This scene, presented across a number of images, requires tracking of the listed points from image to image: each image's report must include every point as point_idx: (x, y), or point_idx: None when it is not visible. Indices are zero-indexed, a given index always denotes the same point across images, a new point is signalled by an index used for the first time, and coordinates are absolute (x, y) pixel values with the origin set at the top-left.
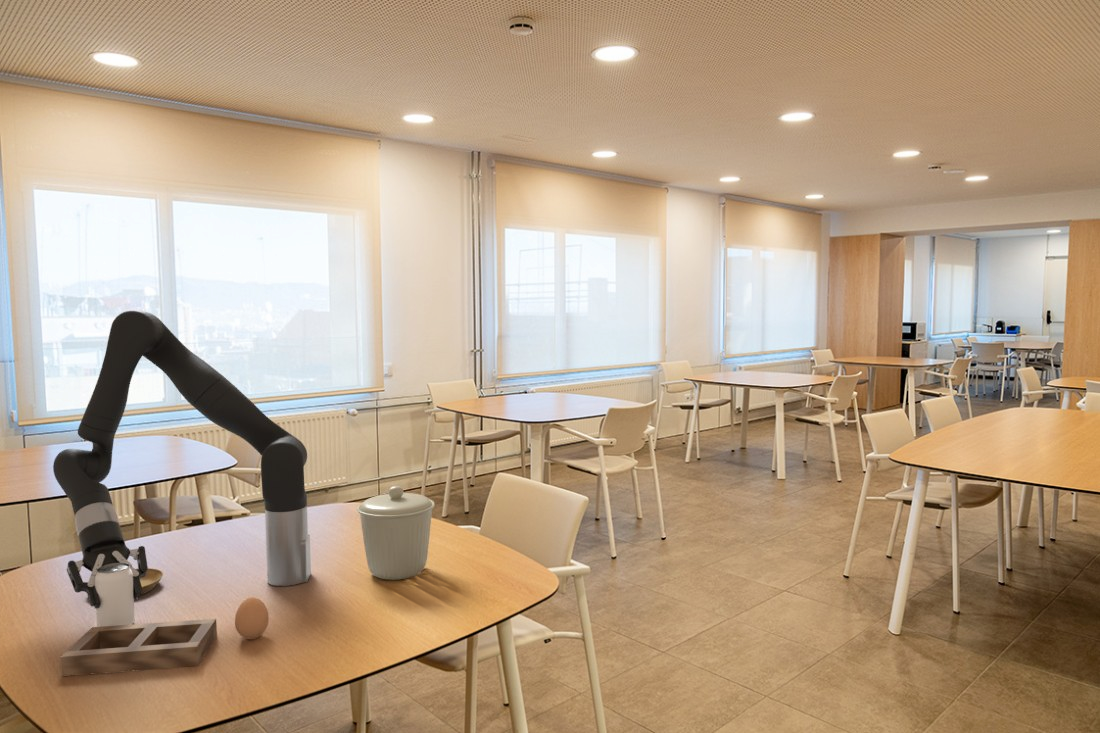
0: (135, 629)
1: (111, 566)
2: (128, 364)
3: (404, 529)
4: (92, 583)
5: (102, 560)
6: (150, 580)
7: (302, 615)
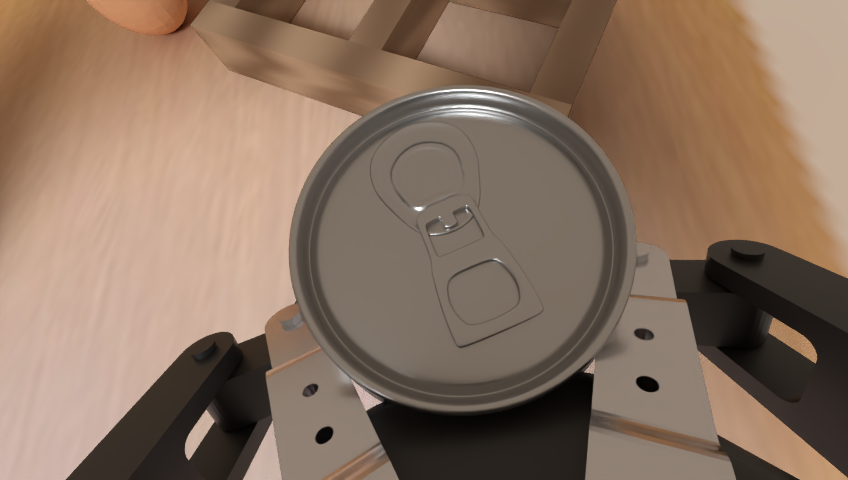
0: (410, 61)
1: (468, 327)
2: None
3: None
4: None
5: (605, 437)
6: None
7: (25, 94)
